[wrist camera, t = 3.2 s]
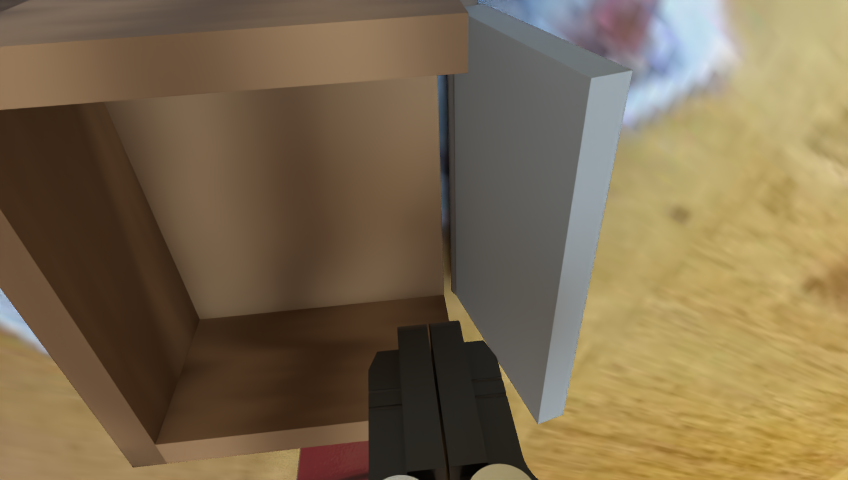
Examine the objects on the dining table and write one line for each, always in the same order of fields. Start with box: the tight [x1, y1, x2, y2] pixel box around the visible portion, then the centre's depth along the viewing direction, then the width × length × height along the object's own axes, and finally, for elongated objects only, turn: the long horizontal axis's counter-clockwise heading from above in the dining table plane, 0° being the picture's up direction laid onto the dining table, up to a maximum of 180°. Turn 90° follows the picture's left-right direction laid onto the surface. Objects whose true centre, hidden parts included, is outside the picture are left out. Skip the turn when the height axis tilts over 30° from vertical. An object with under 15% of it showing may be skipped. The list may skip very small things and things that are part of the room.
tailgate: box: [447, 0, 633, 424], centre depth 17 cm, size 1×12×8 cm, turn 3°
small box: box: [296, 440, 369, 480], centre depth 26 cm, size 5×4×8 cm
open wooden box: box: [0, 0, 468, 467], centre depth 17 cm, size 12×14×8 cm
